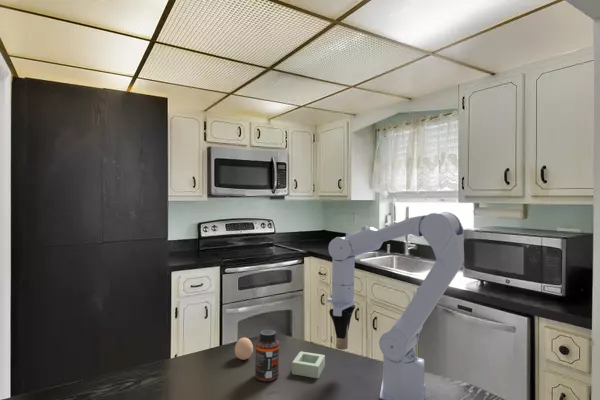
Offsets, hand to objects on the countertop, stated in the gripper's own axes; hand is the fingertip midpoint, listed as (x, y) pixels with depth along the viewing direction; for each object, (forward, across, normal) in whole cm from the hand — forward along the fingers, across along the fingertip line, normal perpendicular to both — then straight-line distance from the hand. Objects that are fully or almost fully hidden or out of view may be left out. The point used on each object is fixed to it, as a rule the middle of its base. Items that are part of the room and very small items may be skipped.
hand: (342, 335), depth 92 cm
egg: (+10, +1, -28) cm, 29 cm away
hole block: (+10, +1, -9) cm, 13 cm away
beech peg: (+3, 0, 0) cm, 3 cm away
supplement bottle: (+10, +8, -18) cm, 22 cm away
